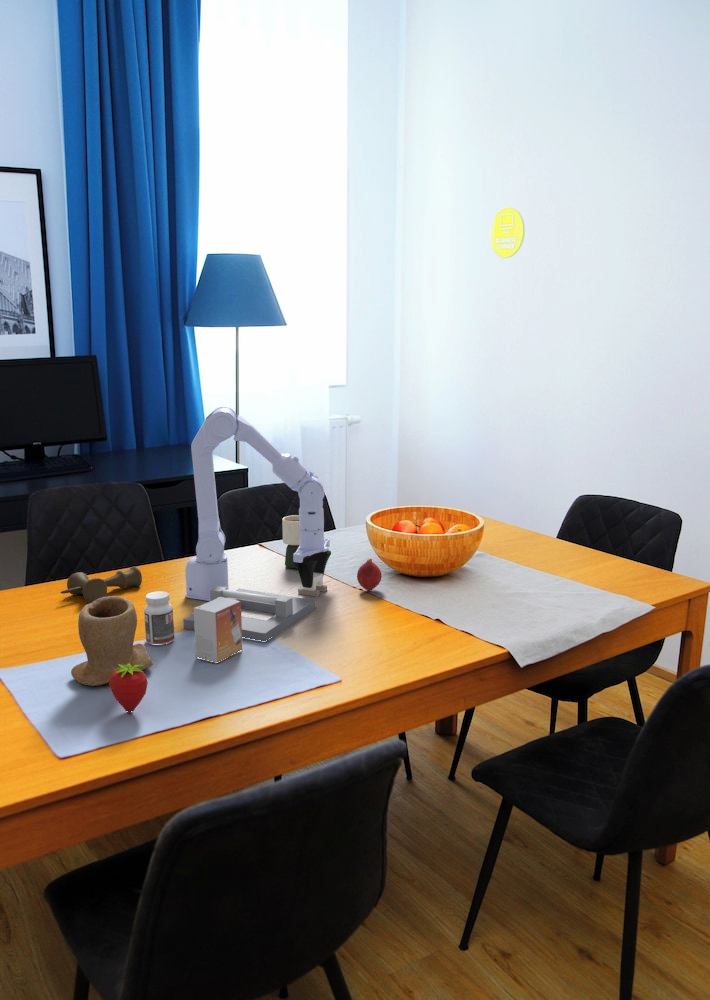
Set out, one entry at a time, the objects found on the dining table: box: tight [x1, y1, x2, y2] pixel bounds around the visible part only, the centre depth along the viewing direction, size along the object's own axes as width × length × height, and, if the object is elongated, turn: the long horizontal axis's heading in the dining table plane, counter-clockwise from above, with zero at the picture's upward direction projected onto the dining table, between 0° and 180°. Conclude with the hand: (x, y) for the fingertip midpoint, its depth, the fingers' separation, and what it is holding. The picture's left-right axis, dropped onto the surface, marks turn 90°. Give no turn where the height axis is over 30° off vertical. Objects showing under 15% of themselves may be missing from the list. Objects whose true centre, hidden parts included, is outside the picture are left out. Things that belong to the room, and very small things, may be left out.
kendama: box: [60, 566, 143, 604], centre depth 210 cm, size 6×10×20 cm
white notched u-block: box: [297, 573, 328, 598], centre depth 211 cm, size 5×5×4 cm
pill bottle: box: [143, 590, 175, 645], centre depth 181 cm, size 6×6×10 cm
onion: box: [356, 558, 383, 592], centre depth 211 cm, size 6×6×8 cm
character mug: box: [281, 514, 300, 569], centre depth 229 cm, size 11×7×13 cm, turn 40°
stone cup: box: [70, 595, 154, 687], centre depth 164 cm, size 15×12×15 cm
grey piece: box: [182, 586, 317, 641], centre depth 194 cm, size 20×22×6 cm
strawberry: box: [108, 656, 149, 713], centre depth 150 cm, size 6×8×10 cm
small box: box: [193, 597, 243, 662], centre depth 173 cm, size 8×6×10 cm
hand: (312, 583), depth 211 cm, fingers closed on white notched u-block, 5 cm apart
